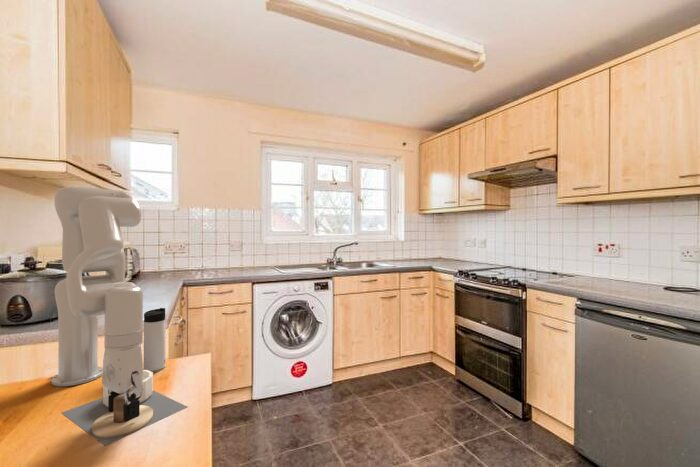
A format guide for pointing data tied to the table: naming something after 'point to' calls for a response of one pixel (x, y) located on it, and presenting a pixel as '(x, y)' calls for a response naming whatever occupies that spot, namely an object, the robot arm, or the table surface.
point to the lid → (120, 420)
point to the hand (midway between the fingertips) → (123, 413)
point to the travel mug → (154, 340)
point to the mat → (95, 409)
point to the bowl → (145, 395)
